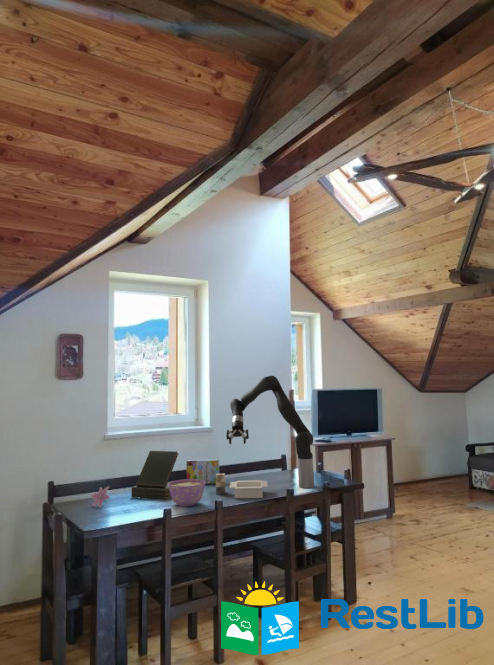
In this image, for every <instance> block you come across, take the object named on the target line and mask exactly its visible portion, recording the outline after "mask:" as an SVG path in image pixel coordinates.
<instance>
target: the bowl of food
mask: <svg viewBox="0 0 494 665" xmlns="http://www.w3.org/2000/svg"><path fill="white" fill-rule="evenodd" d="M169 482H170V483H168V486H169V490H170V494H171V498H170V499H171V500H172V501H173V502H174V503H175V504H176V505H179V507H193V506H195V504H197V503H198V502H200V501H201V500H202V499H203V494H204V491H205V486H206V484H205V481H204V480H199V479H187V478H185V479H177V480H172V481H169Z"/></svg>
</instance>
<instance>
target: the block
mask: <svg viewBox="0 0 494 665" xmlns="http://www.w3.org/2000/svg"><path fill="white" fill-rule="evenodd" d="M225 494H226V473H224V472H223V473H220V472H219V474H216V484H215V495H225Z"/></svg>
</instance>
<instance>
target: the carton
mask: <svg viewBox="0 0 494 665" xmlns="http://www.w3.org/2000/svg"><path fill="white" fill-rule="evenodd" d="M263 488H268V481H267V480H261V479H260V480H256V479H255V480H252V479H251V480H236V481H230V483H229V489H234V499H256V498H257V499H260V498H261V499H262V498H264V496H263Z"/></svg>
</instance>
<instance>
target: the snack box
mask: <svg viewBox="0 0 494 665" xmlns="http://www.w3.org/2000/svg"><path fill="white" fill-rule="evenodd" d="M219 473H220V459H219V458H217V459H215V458H214V459H213V458H212V459H188V460H186V479H199V480H204V481H205V485H206V484H210V485H211V484H215V485H216V474H219Z"/></svg>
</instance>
